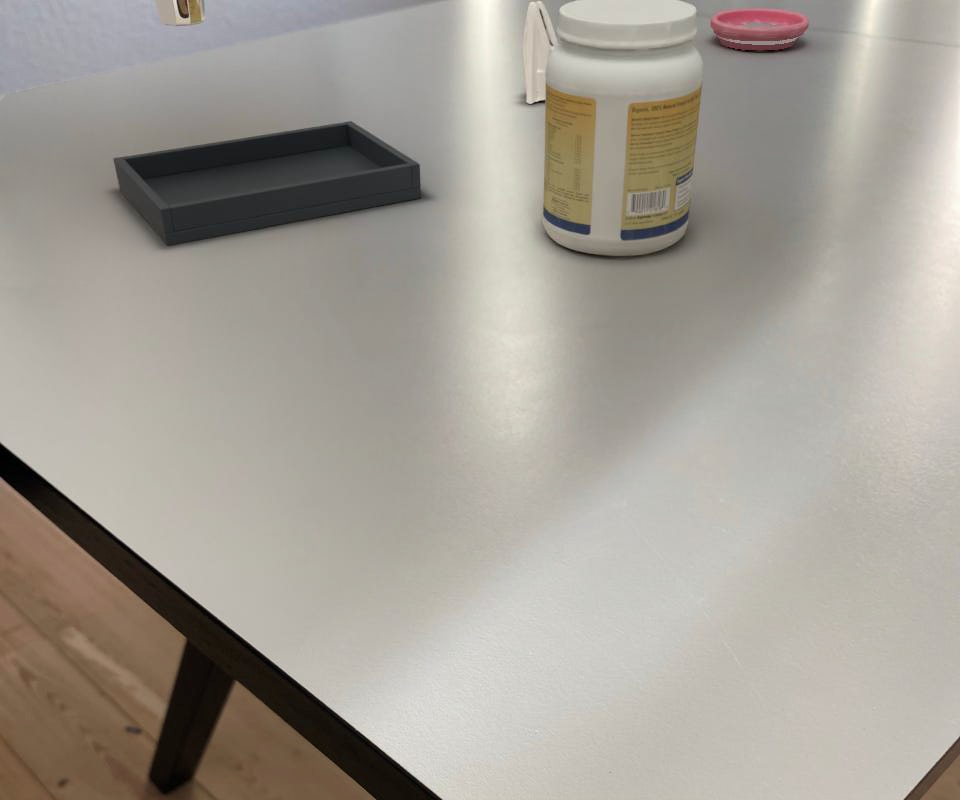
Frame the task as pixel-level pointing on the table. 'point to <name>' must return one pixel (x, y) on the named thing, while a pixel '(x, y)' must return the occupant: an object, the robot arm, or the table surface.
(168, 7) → the milkshake
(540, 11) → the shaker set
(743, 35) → the saucer
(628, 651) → the table surface
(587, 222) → the supplement tub
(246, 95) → the table surface
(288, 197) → the tray
